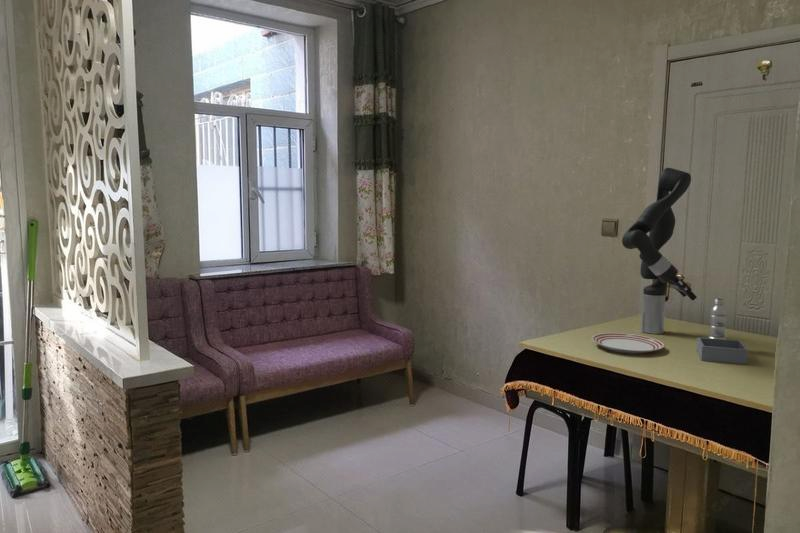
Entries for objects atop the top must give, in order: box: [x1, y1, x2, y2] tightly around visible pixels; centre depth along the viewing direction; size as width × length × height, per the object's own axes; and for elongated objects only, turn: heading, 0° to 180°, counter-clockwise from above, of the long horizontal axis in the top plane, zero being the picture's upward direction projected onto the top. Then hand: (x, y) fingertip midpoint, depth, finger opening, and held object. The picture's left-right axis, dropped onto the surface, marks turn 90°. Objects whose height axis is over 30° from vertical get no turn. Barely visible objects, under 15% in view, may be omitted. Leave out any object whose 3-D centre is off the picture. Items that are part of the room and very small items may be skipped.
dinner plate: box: [591, 332, 665, 355], centre depth 243 cm, size 28×27×3 cm
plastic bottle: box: [707, 297, 729, 339], centre depth 242 cm, size 6×7×20 cm
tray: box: [696, 337, 749, 365], centre depth 229 cm, size 15×15×6 cm
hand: (690, 297), depth 242 cm, fingers open, 8 cm apart
